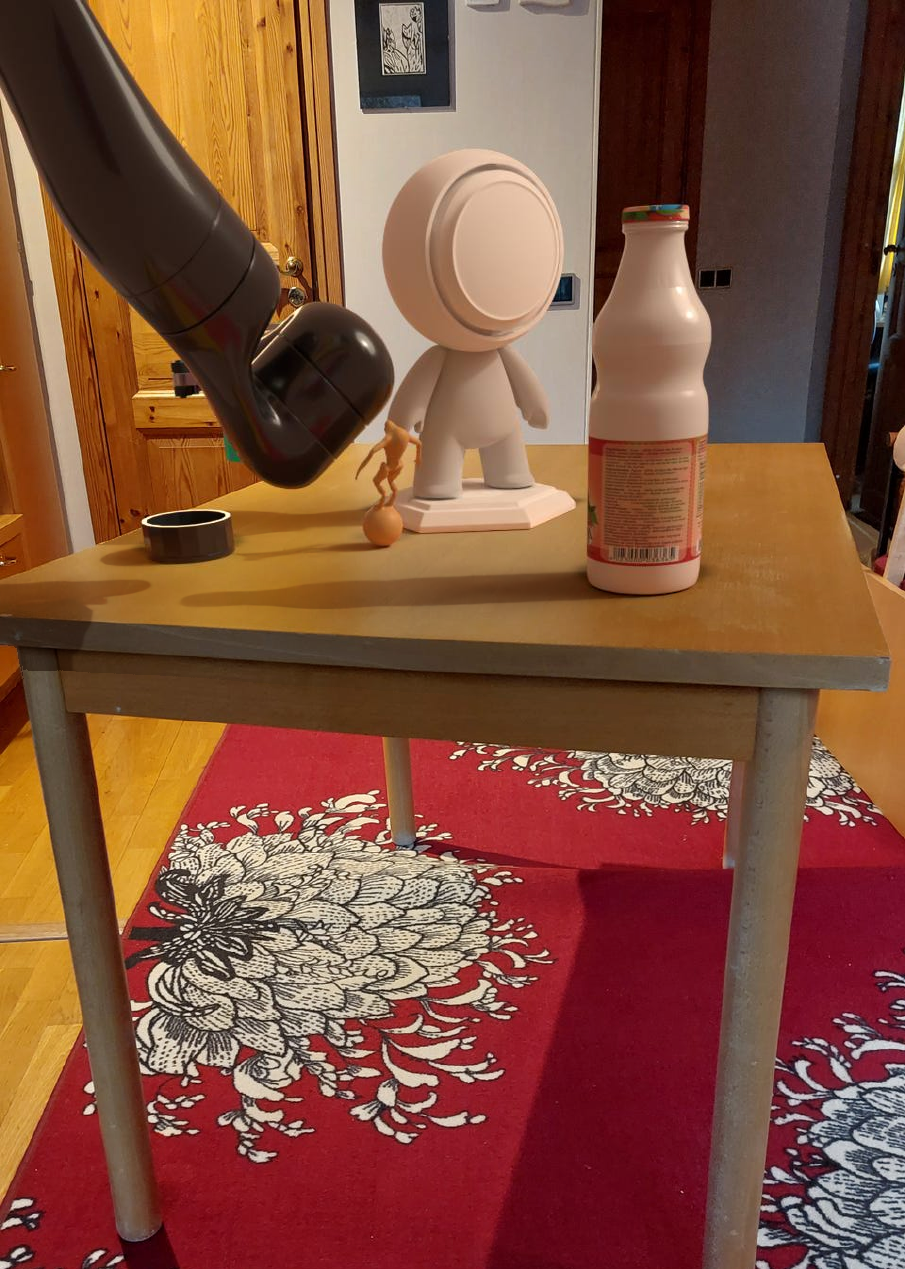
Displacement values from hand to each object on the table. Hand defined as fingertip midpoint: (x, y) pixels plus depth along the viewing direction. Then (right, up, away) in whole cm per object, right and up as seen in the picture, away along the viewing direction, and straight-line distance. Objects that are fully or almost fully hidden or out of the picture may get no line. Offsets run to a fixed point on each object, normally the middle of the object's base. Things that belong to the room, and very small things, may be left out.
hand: (249, 367), depth 93 cm
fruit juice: (+33, -18, 0) cm, 38 cm away
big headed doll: (+19, -4, +30) cm, 36 cm away
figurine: (+11, -12, +16) cm, 23 cm away
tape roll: (-9, -12, +17) cm, 22 cm away
